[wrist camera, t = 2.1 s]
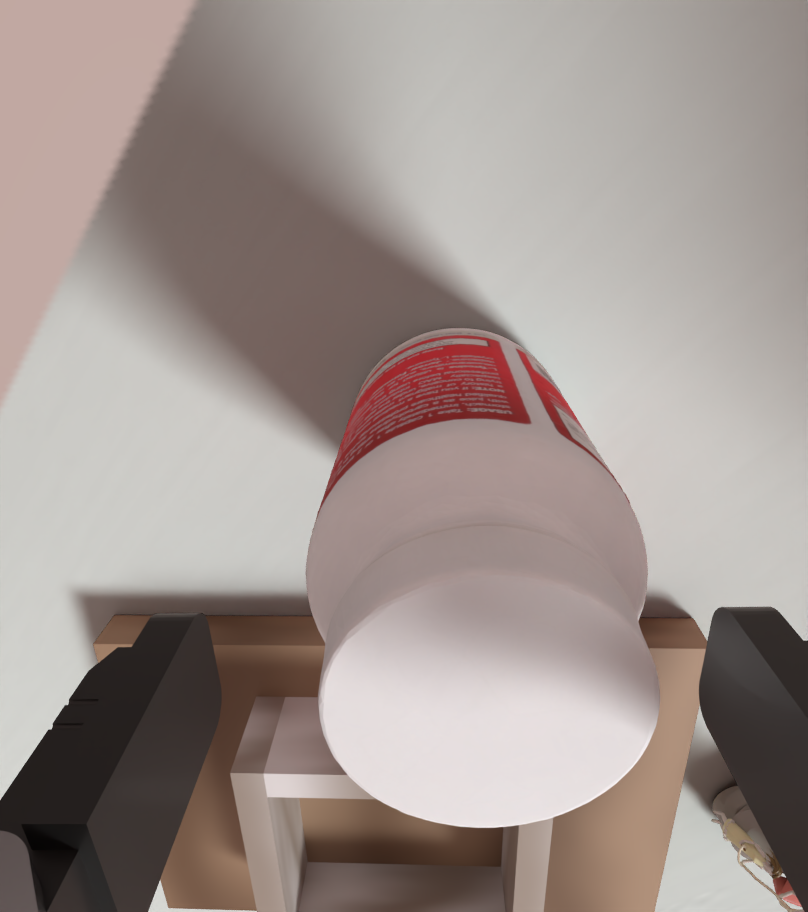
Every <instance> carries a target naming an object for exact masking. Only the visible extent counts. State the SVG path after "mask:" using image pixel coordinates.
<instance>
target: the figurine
mask: <svg viewBox="0 0 808 912" xmlns="http://www.w3.org/2000/svg"><path fill="white" fill-rule="evenodd" d="M713 813H715V815H716V816H717V817H718V818H719V819H720V820H716V819H712V822H715V823H718V824H720V826H721V828H722V831H723V836H724V837H723V838H724V839H725V840H726V841H730V842H731V843H732V846H733V847H734V848H735V850H736V851H737V852H738V863H739V864H740V866H741V867H744V868H745V870H746V871H747V872H749V873H750V874H751V875H752V877H753V878H754V879H755V880H757V881H758V882H759V883H760V884H762V885H763V886H764V887H766V888H767V889H768V890H769V891H771V892H772V893H773V894H774V895H775V896H776V897H777V899H778V900H779V903H780V905H781V906H782V907H784V908H785V909H787V910H788V912H804V910H803V909H802V910H797V909H791V908H790V907H789V906H788V905H787V904H786V903H785V902H784V901H783V900H782V899H784V900H785V901H787V902H790V903H792V904H795V905H797V906H800V907H802V906H801V904H800V902H799V900H798V898H797V897H796V895H795V893H794V891H793V889H792V887H791V885H790V883H789V881H788V880H787V878H785V877H782V876H781V874H782V873H784V872H783V870H782V868H781V866H780V864H779V862H778V861H777V859H776V857H775V855H774V853H773V851H772V849H771V847H770V845H769V843H768V842H767V840H766V838H765V836H764V834H763V832H762V830H761V828H760V826H759V825H758V823H757V821H756V819H755V817H754V815H753V813H752V811H751V809H750V807H749V806H748V804H747V802H746V800H745V798H744V796H743V794H742V792H741V790H740V788H739V787H738V786H733V787H730V788H728V789H726V790H724V791H722V792H721V793H719V794H718V795H717V796H716V798H715V799H714V802H713ZM740 855H742V856H744V857H745V858H747V859H748V860H742V862H740ZM749 862H754V863H755V864H756V865H757V866H758V867H760V868H761V869H764V870H765V871H766V872H768V873H769V874H770V876H772V878H773V883H774V887H775V891H776V893H775V892H774V891H773V890H772V889H770V888H769V887H768V886H767V885H765V884H764V883H763V882H761V881H760V880H759V879H757V878H756V877H755V876H754V874H753V873H752V872H751V871H750V870H748V869H747V868H746V866H745V865H744V864H745V863H749Z"/></svg>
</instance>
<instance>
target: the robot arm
mask: <svg viewBox="0 0 808 912" xmlns="http://www.w3.org/2000/svg"><path fill="white" fill-rule="evenodd" d="M221 701H222V692H221V683H220V678H219V673H218V668H217V663H216V659H215V654H214V649H213V644H212V639H211V634H210V629H209V624H208V621H207V618H206V616H205V615H204V614H203V613H165V614H154V615H152V616H151V617H150V619H149V620H148V621H147V623H146V625H145V626H144V628H143V629H142V631H141V633H140V634H139V636H138V637H137V639H136V641H135V642H134V644H133V645H132V647H117V648H116V649H115V650H114V651H112V652H111V653H110V654H109V655H108V656H106V657H105V658H104V659H103V660H101V661H100V662H99V663H98V664H97V665H95V666H94V667H93V668H92V669H91V670H89V671H88V673H87V674H86V675H85V677H84V678H83V680H82V681H81V683H80V684H79V686H78V687H77V689H76V690H75V692H74V693H73V695H72V696H71V697H70V699H69V704H68V705H65V706H64V708H63V709H62V711H61V712H60V714H59V715H58V717H57V718H56V719H55V721H54V722H53V728H52V730H48V731H47V733H46V734H45V736H44V737H43V739H42V740H41V741H40V743H39V744H38V746H37V747H36V749H35V750H34V752H33V753H32V755H31V756H30V758H29V759H28V761H27V762H26V763H25V765H24V766H23V768H22V769H21V771H20V772H19V774H18V775H17V777H16V778H15V780H14V781H13V782H12V784H11V785H10V787H9V788H8V790H7V791H6V793H5V794H4V796H3V797H2V799H1V800H0V912H148V910H149V908H150V905H151V902H152V900H153V897H154V894H155V892H156V889H157V886H158V884H159V881H160V878H161V876H162V873H163V870H164V868H165V865H166V862H167V860H168V857H169V854H170V852H171V849H172V846H173V844H174V841H175V838H176V836H177V833H178V830H179V828H180V825H181V822H182V820H183V817H184V814H185V812H186V809H187V806H188V804H189V801H190V798H191V796H192V793H193V790H194V788H195V785H196V782H197V780H198V777H199V774H200V772H201V769H202V766H203V764H204V761H205V758H206V756H207V753H208V750H209V748H210V745H211V742H212V740H213V737H214V734H215V732H216V729H217V726H218V722H219V718H220V712H221ZM699 701H700V707H701V711H702V715H703V718H704V721H705V724H706V726H707V728H708V730H709V732H710V733H711V735H712V737H713V739H714V741H715V743H716V745H717V747H718V749H719V751H720V752H721V754H722V756H723V758H724V760H725V762H726V764H727V766H728V768H729V770H730V771H731V773H732V775H733V777H734V779H735V781H736V783H737V785H738V787H739V788H740V790H741V792H742V794H743V796H744V798H745V800H746V802H747V804H748V806H749V807H750V809H751V811H752V813H753V815H754V817H755V819H756V821H757V823H758V825H759V826H760V828H761V830H762V832H763V834H764V836H765V838H766V840H767V842H768V843H769V845H770V847H771V849H772V851H773V853H774V855H775V857H776V859H777V861H778V862H779V864H780V866H781V868H782V870H783V872H784V874H785V876H786V878H787V880H788V881H789V883H790V885H791V887H792V889H793V891H794V893H795V895H796V897H797V898H798V900H799V902H800V904H801V906H802V908H803V910H804V912H808V641H803V640H802V639H801V638H800V636H799V635H798V634H797V633H796V632H795V630H794V629H793V628H792V627H791V626H790V624H789V623H788V622H787V621H786V620H785V618H784V617H783V616H782V615H781V614H780V613H779V612H778V611H777V610H776V609H774V608H772V607H721V608H718V609H717V610H716V611H715V612H714V615H713V617H712V621H711V626H710V631H709V636H708V641H707V646H706V651H705V656H704V661H703V666H702V671H701V676H700V681H699Z"/></svg>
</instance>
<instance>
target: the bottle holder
mask: <svg viewBox="0 0 808 912" xmlns="http://www.w3.org/2000/svg"><path fill="white" fill-rule="evenodd" d="M151 616H152V615H114V616H113V618H112V619H111V620H110V622H109V623H108V624H107V626H106V627H105V629H104V630H103V631H102V633H101V634H100V635H99V637H98V638H97V639H96V641H95V642H94V643H93V646H94V649H95V653H96V656H97V660H98V663H99V662H100V661H101V660H103V659H104V658H105V657H106V656H108V655H109V654H110V653H111V652H112V651H114V650H115V649H116V648H117V647H132V645H133V644H134V642H135V641H136V639H137V637H138V636H139V634H140V633H141V631H142V629H143V628H144V626H145V625H146V623H147V621H148V620H149V619H150V617H151ZM206 618H207V621H208V624H209V629H210V634H211V639H212V644H213V649H214V654H215V659H216V663H217V668H218V673H219V678H220V683H221V692H222V701H221V712H220V718H219V722H218V726H217V729H216V732H215V734H214V737H213V740H212V742H211V745H210V748H209V750H208V753H207V756H206V758H205V761H204V764H203V766H202V769H201V772H200V774H199V777H198V780H197V782H196V785H195V788H194V790H193V793H192V796H191V798H190V801H189V804H188V806H187V809H186V812H185V814H184V817H183V820H182V822H181V825H180V828H179V830H178V833H177V836H176V838H175V841H174V844H173V846H172V849H171V852H170V854H169V857H168V860H167V862H166V865H165V868H164V870H163V873H162V876H161V878H160V880H161V883H162V887H163V890H164V894H165V897H166V901H167V904H168V908H185V909H220V910H255V911H257V912H654V911H655V906H656V902H657V897H658V893H659V888H660V883H661V879H662V874H663V870H664V865H665V860H666V856H667V851H668V847H669V842H670V838H671V833H672V828H673V824H674V819H675V815H676V810H677V806H678V801H679V796H680V792H681V787H682V783H683V778H684V773H685V769H686V764H687V760H688V755H689V751H690V746H691V741H692V737H693V732H694V728H695V723H696V719H697V714H698V709H699V705H700V701H699V681H700V676H701V671H702V666H703V661H704V656H705V651H706V646H707V640H706V639H705V637H704V635H703V634H702V632H701V630H700V629H699V627H698V625H697V624H696V622H695V620H694V619H693V618H639V621H638V622H639V626H640V629H641V632H642V634H643V637H644V639H645V641H646V644H647V646H648V648H649V651H650V653H651V656H652V658H653V661H654V663H655V666H656V671H657V675H658V679H659V687H660V707H659V714H658V719H657V724H656V728H655V730H654V732H653V735H652V737H651V739H650V742H649V744H648V746H647V748H646V749H645V751H644V753H643V755H642V756H641V757H640V759H639V760H638V761H637V763H636V764H635V765H634V766H633V768H632V769H631V770H630V771H629V772H628V773H627V774H626V775H625V776H624V777H623V778H622V779H621V780H620V781H619V782H617V783H616V784H615V785H614V786H612V787H611V788H610V789H608V790H607V791H606V792H604V793H603V794H601V795H600V796H598V797H596V798H595V799H593V800H592V801H590V802H588V803H586V804H584V805H582V806H580V807H578V808H576V809H573V810H571V811H569V812H566V813H564V814H561V815H559V816H556V817H553V818H550V819H547V820H542V821H537V822H532V823H528V824H523V825H515V826H507V827H496V828H474V827H459V826H453V825H447V824H441V823H436V822H432V821H428V820H424V819H421V818H417V817H414V816H411V815H408V814H405V813H403V812H401V811H399V810H397V809H395V808H392V807H390V806H388V805H386V804H384V803H382V802H381V801H379V800H377V799H376V798H374V797H373V796H371V795H370V794H369V793H367V792H366V791H365V790H364V789H362V788H361V787H360V786H359V785H358V784H356V783H355V782H354V781H353V780H352V779H351V778H350V777H349V776H348V775H347V774H346V772H345V771H344V770H343V769H342V767H341V766H340V764H339V763H338V762H337V761H336V760H335V758H334V757H333V755H332V753H331V751H330V749H329V746H328V744H327V742H326V739H325V737H324V735H323V731H322V727H321V723H320V719H319V710H318V691H319V684H320V676H321V671H322V665H323V659H324V651H325V642H324V640H323V638H322V636H321V634H320V632H319V631H318V628H317V625H316V623H315V620H314V618H313V616H206Z"/></svg>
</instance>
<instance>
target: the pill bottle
mask: <svg viewBox="0 0 808 912" xmlns="http://www.w3.org/2000/svg"><path fill="white" fill-rule="evenodd" d="M647 577H648V567H647V555H646V549H645V543H644V539H643V535H642V532H641V529H640V525H639V523H638V520H637V518H636V515H635V513H634V511H633V509H632V508H631V505H630V502H629V500H628V498H627V496H626V494H625V493H624V492H623V490H622V488H621V486H620V485H619V484H618V482H617V481H616V479H615V478H614V476H613V475H612V474H611V472H610V470H609V468H608V467H607V465H606V464H605V462H604V461H603V459H602V458H601V456H600V454H599V453H598V452H597V450H596V448H595V446H594V445H593V443H592V442H591V440H590V439H589V437H588V436H587V434H586V432H585V431H584V429H583V428H582V426H581V424H580V423H579V421H578V420H577V418H576V416H575V415H574V413H573V411H572V410H571V408H570V407H569V405H568V403H567V402H566V400H565V399H564V397H563V396H562V394H561V392H560V390H559V388H558V387H557V385H556V384H555V382H554V381H553V379H552V378H551V376H550V375H549V374H548V372H547V371H546V369H545V368H544V367H543V366H542V365H541V364H540V363H539V362H538V361H537V359H536V358H535V357H534V356H533V355H531V354H530V353H529V352H528V351H527V350H525V349H524V348H522V347H521V346H519V345H518V344H516V343H514V342H512V341H510V340H508V339H507V338H505V337H502V336H500V335H497V334H495V333H491V332H488V331H484V330H478V329H470V328H448V329H439V330H434V331H430V332H427V333H424V334H421V335H418V336H416V337H413V338H412V339H410V340H408V341H406V342H404V343H402V344H400V345H399V346H397V347H396V348H394V349H393V350H392V351H391V352H389V353H388V354H387V355H386V356H385V357H383V358H382V359H381V360H380V361H379V362H378V363H377V365H376V366H375V367H374V368H373V369H372V371H371V372H370V374H369V375H368V376H367V378H366V380H365V381H364V383H363V385H362V387H361V389H360V391H359V393H358V396H357V398H356V400H355V403H354V406H353V409H352V412H351V416H350V419H349V422H348V425H347V428H346V431H345V434H344V437H343V440H342V442H341V445H340V448H339V451H338V455H337V458H336V460H335V463H334V467H333V469H332V472H331V476H330V479H329V482H328V485H327V488H326V491H325V494H324V497H323V500H322V502H321V506H320V508H319V511H318V515H317V518H316V522H315V525H314V528H313V531H312V536H311V539H310V544H309V549H308V555H307V562H306V584H307V594H308V599H309V604H310V608H311V612H312V615H313V618H314V620H315V623H316V625H317V628H318V631H319V632H320V634H321V636H322V638H323V640H324V642H325V651H324V659H323V665H322V671H321V676H320V684H319V691H318V710H319V719H320V723H321V727H322V731H323V735H324V737H325V739H326V742H327V744H328V746H329V749H330V751H331V753H332V755H333V757H334V758H335V760H336V761H337V762H338V763H339V764H340V766H341V767H342V769H343V770H344V771H345V772H346V774H347V775H348V776H349V777H350V778H351V779H352V780H353V781H354V782H355V783H356V784H358V785H359V786H360V787H361V788H362V789H364V790H365V791H366V792H367V793H369V794H370V795H371V796H373V797H374V798H376V799H377V800H379V801H381V802H382V803H384V804H386V805H388V806H390V807H392V808H395V809H397V810H399V811H401V812H403V813H405V814H408V815H411V816H414V817H417V818H421V819H424V820H428V821H432V822H436V823H441V824H447V825H453V826H459V827H474V828H496V827H507V826H515V825H523V824H528V823H532V822H537V821H542V820H547V819H550V818H553V817H556V816H559V815H561V814H564V813H566V812H569V811H571V810H573V809H576V808H578V807H580V806H582V805H584V804H586V803H588V802H590V801H592V800H593V799H595V798H596V797H598V796H600V795H601V794H603V793H604V792H606V791H607V790H608V789H610V788H611V787H612V786H614V785H615V784H616V783H617V782H619V781H620V780H621V779H622V778H623V777H624V776H625V775H626V774H627V773H628V772H629V771H630V770H631V769H632V768H633V766H634V765H635V764H636V763H637V761H638V760H639V759H640V757H641V756H642V755H643V753H644V751H645V749H646V748H647V746H648V744H649V742H650V739H651V737H652V735H653V732H654V730H655V728H656V724H657V719H658V714H659V707H660V687H659V679H658V675H657V671H656V666H655V663H654V661H653V658H652V656H651V653H650V651H649V648H648V646H647V644H646V641H645V639H644V637H643V634H642V632H641V629H640V626H639V622H638V621H639V618H640V615H641V613H642V610H643V606H644V603H645V597H646V589H647Z"/></svg>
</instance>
